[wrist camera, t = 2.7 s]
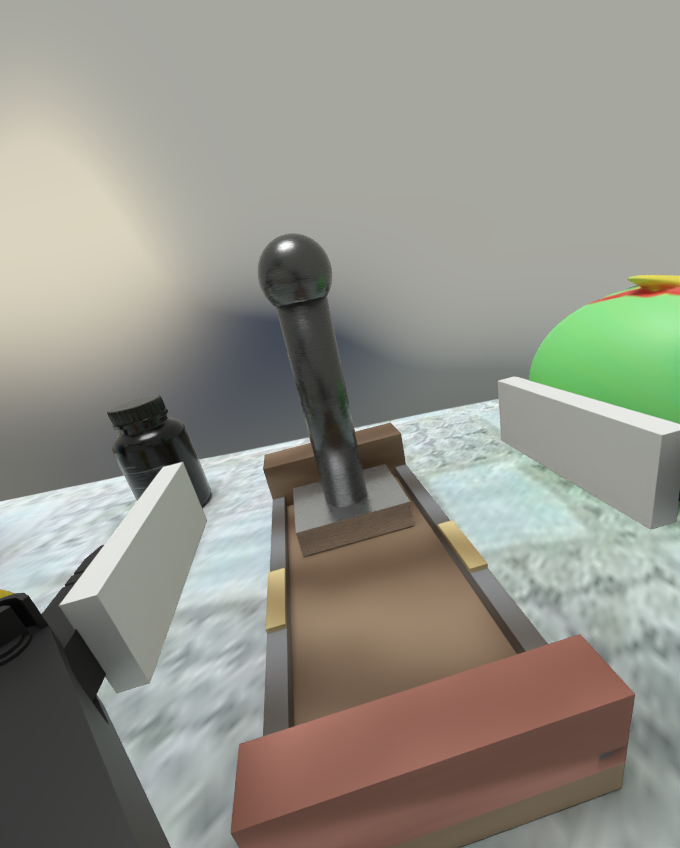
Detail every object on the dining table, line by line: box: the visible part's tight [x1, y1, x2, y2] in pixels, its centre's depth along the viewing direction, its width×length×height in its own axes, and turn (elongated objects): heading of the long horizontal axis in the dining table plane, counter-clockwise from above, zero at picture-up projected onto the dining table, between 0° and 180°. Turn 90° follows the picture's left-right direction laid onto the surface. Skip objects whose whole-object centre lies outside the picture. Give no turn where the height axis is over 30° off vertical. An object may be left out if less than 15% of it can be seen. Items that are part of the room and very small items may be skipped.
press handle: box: [258, 234, 414, 557], centre depth 23 cm, size 6×8×20 cm
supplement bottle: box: [107, 395, 211, 507], centre depth 35 cm, size 7×7×12 cm
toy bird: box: [529, 275, 680, 424], centre depth 26 cm, size 18×17×15 cm
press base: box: [231, 423, 635, 848], centre depth 22 cm, size 24×12×6 cm, turn 9°
